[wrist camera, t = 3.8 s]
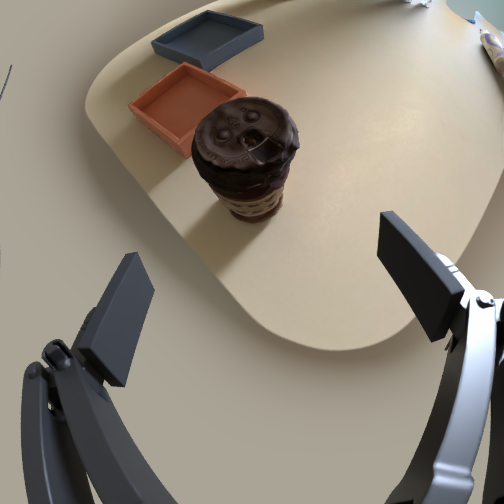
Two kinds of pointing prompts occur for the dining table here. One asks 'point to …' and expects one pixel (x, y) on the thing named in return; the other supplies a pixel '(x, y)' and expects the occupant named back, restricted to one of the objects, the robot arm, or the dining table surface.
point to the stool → (422, 2)
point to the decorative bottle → (493, 50)
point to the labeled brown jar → (246, 155)
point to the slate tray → (208, 39)
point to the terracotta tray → (182, 104)
